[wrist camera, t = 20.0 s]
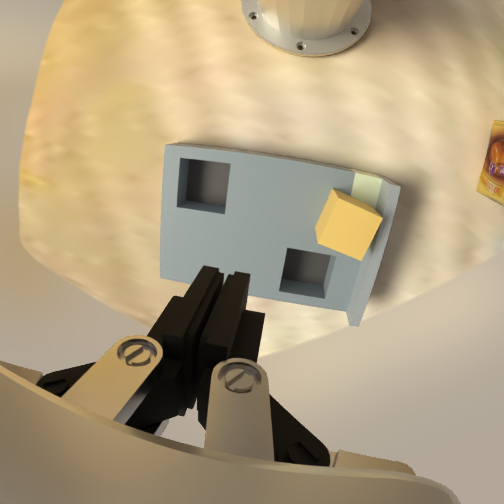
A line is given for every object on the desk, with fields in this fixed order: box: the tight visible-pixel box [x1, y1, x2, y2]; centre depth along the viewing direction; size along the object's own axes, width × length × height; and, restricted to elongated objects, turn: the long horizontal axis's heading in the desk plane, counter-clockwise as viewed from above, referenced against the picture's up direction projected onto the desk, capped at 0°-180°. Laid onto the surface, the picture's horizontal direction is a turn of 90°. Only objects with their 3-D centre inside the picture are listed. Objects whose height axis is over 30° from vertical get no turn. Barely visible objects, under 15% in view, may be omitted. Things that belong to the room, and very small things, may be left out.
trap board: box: [160, 143, 401, 326], centre depth 29 cm, size 14×21×6 cm, turn 83°
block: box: [315, 188, 383, 261], centre depth 25 cm, size 4×4×4 cm
